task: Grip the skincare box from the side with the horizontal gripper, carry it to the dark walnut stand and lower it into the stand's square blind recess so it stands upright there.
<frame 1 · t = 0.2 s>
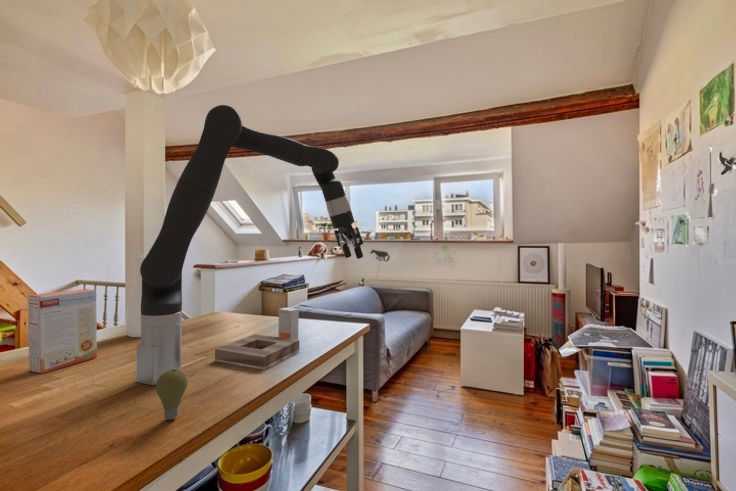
hand: (354, 257, 117), 31 cm above the table, tool tilted 20°, fingers open, 8 cm apart
walnut stand: (259, 355, 108), on the table
cracker box: (64, 365, 99), on the table
light bulb: (171, 420, 69), on the table
skincare box: (288, 342, 123), on the table
wine bottle: (142, 335, 130), on the table
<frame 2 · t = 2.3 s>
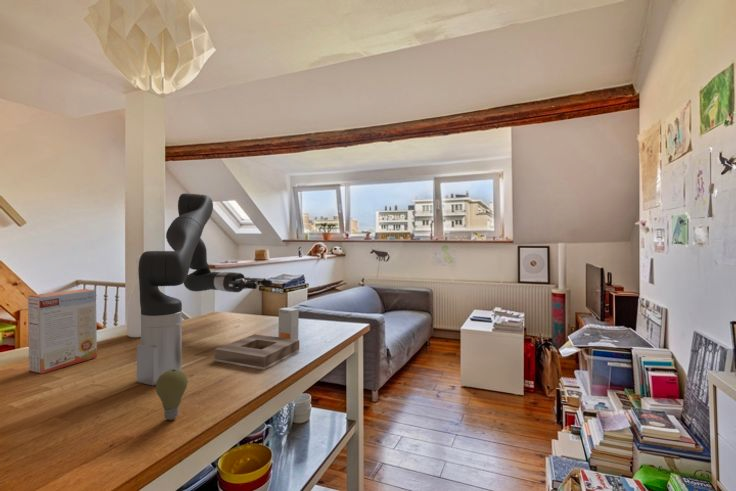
hand: (263, 284, 127), 20 cm above the table, tool horizontal, fingers open, 8 cm apart
nothing on the table moved.
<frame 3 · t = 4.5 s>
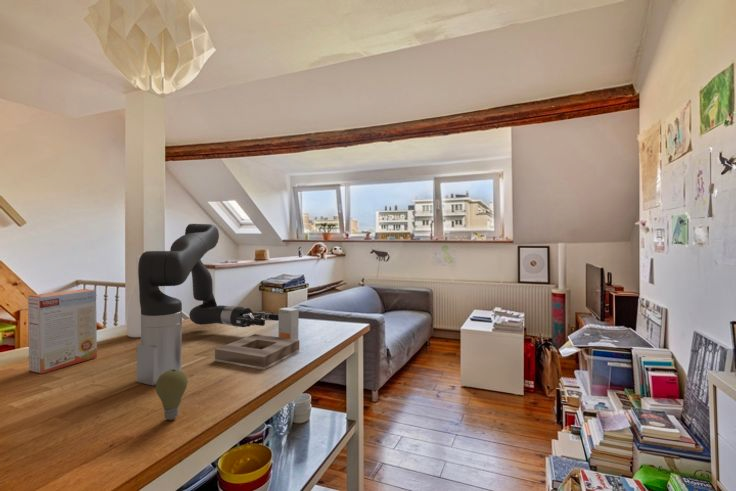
hand: (271, 320, 125), 7 cm above the table, tool horizontal, fingers open, 8 cm apart
nothing on the table moved.
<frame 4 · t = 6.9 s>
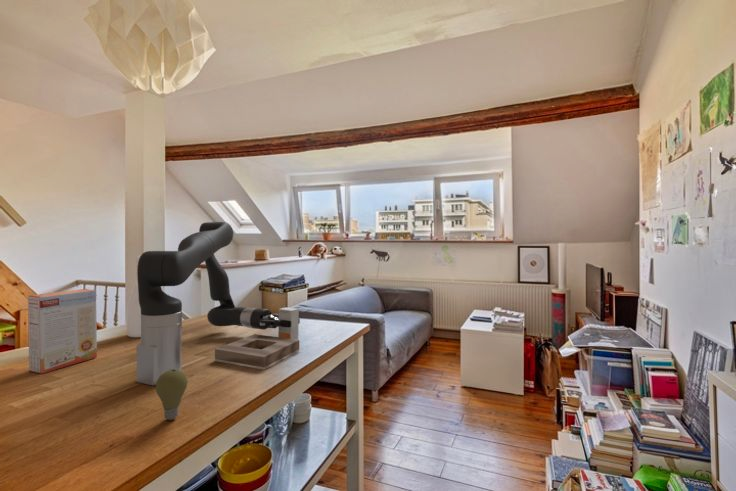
hand: (294, 322, 122), 7 cm above the table, tool horizontal, fingers closed on skincare box, 4 cm apart
skincare box: (288, 342, 123), on the table, touching gripper
everything else where it was.
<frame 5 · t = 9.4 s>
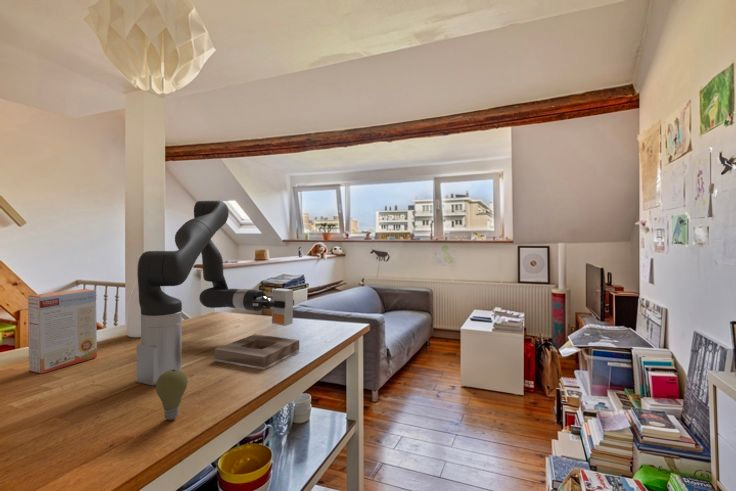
hand: (289, 303, 118), 15 cm above the table, tool horizontal, fingers closed on skincare box, 4 cm apart
skincare box: (282, 324, 119), point 7 cm above the table, touching gripper
everything else where it was.
when the fingers open (8 cm above the table, at t = 12.4 s): skincare box stays where it is, resting on walnut stand.
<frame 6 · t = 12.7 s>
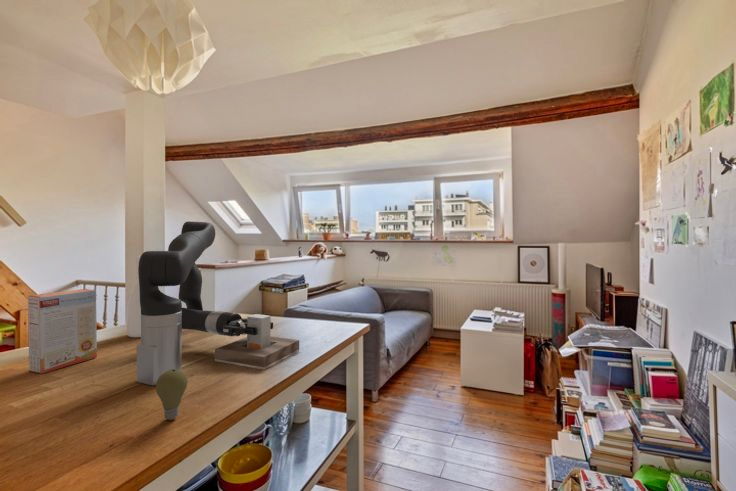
hand: (264, 328, 107), 9 cm above the table, tool horizontal, fingers open, 7 cm apart
skincare box: (258, 354, 108), resting on walnut stand
everything else where it was.
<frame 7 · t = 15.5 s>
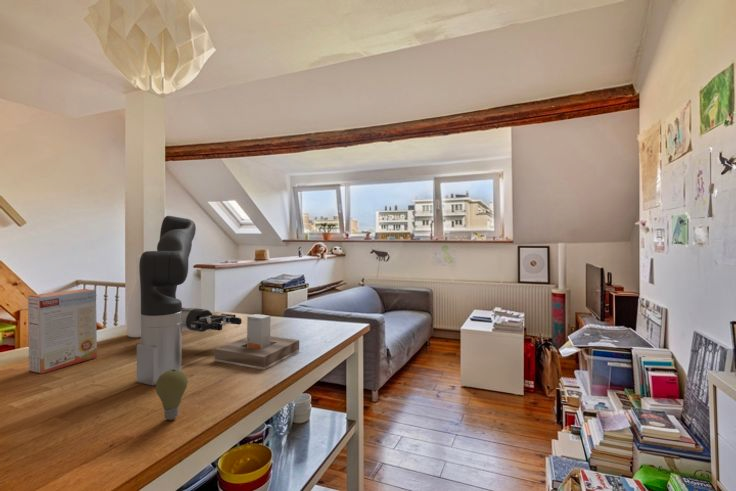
hand: (231, 324, 112), 9 cm above the table, tool horizontal, fingers open, 8 cm apart
nothing on the table moved.
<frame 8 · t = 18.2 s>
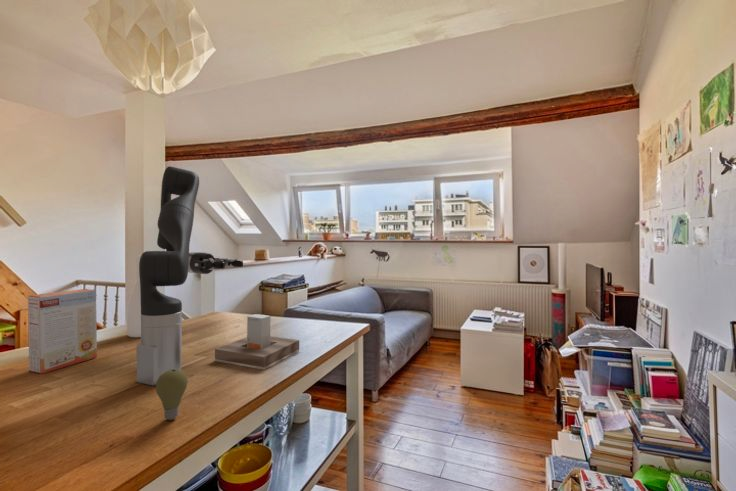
hand: (233, 264, 117), 28 cm above the table, tool horizontal, fingers open, 8 cm apart
nothing on the table moved.
at the end: skincare box 0.1 cm off-centre on the walnut stand, point 0.4 cm above the walnut stand's base; skincare box tilted 0°; the gripper is holding nothing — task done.
